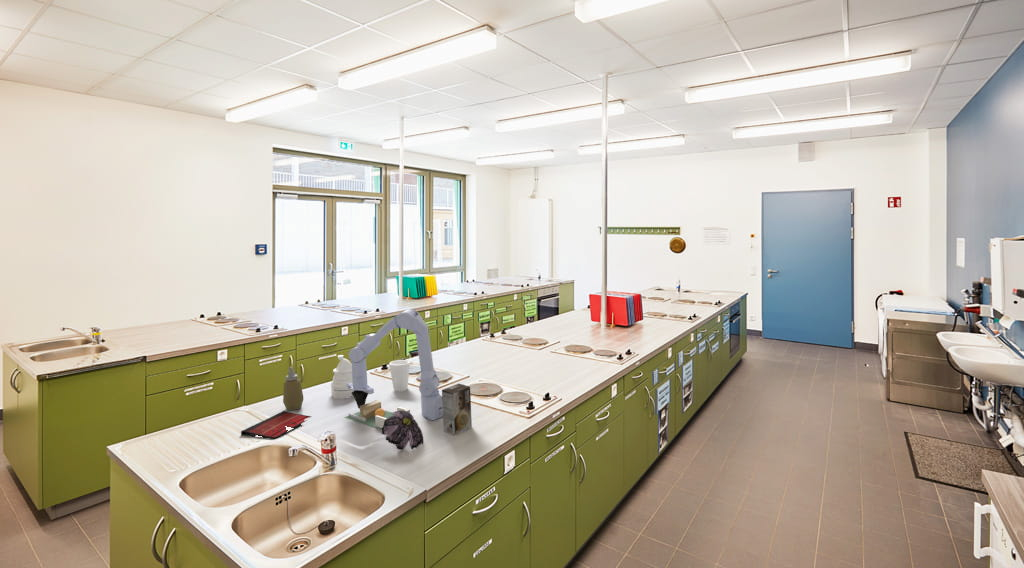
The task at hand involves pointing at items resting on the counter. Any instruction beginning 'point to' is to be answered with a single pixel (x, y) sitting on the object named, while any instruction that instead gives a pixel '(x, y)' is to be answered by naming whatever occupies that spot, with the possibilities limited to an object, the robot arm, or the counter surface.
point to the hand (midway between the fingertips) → (361, 407)
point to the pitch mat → (365, 421)
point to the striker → (369, 409)
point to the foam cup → (399, 374)
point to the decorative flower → (402, 430)
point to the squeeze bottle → (292, 391)
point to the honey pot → (342, 379)
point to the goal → (380, 420)
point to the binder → (276, 425)
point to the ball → (380, 412)
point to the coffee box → (456, 409)
